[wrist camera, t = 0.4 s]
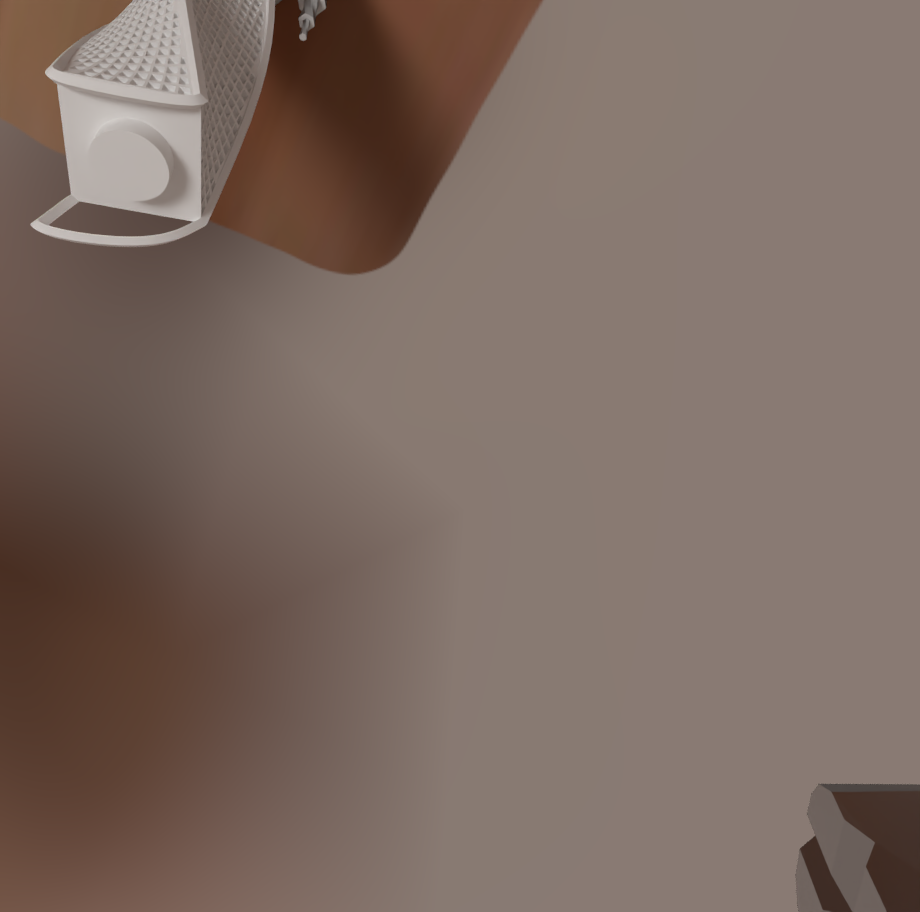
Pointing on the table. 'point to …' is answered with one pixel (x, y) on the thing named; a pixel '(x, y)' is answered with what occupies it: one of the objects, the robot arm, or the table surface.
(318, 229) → the table surface
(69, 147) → the skyscraper
